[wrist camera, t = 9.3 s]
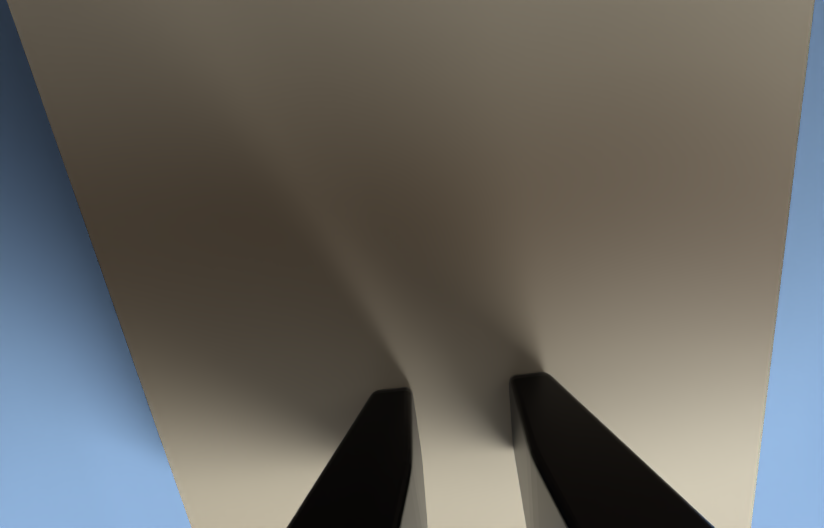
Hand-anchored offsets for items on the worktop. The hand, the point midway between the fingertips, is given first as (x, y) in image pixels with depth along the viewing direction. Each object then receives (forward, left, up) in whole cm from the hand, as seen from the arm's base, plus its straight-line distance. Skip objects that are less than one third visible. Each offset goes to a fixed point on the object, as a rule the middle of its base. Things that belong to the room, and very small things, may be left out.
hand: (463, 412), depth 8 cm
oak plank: (+2, 0, -1) cm, 2 cm away
